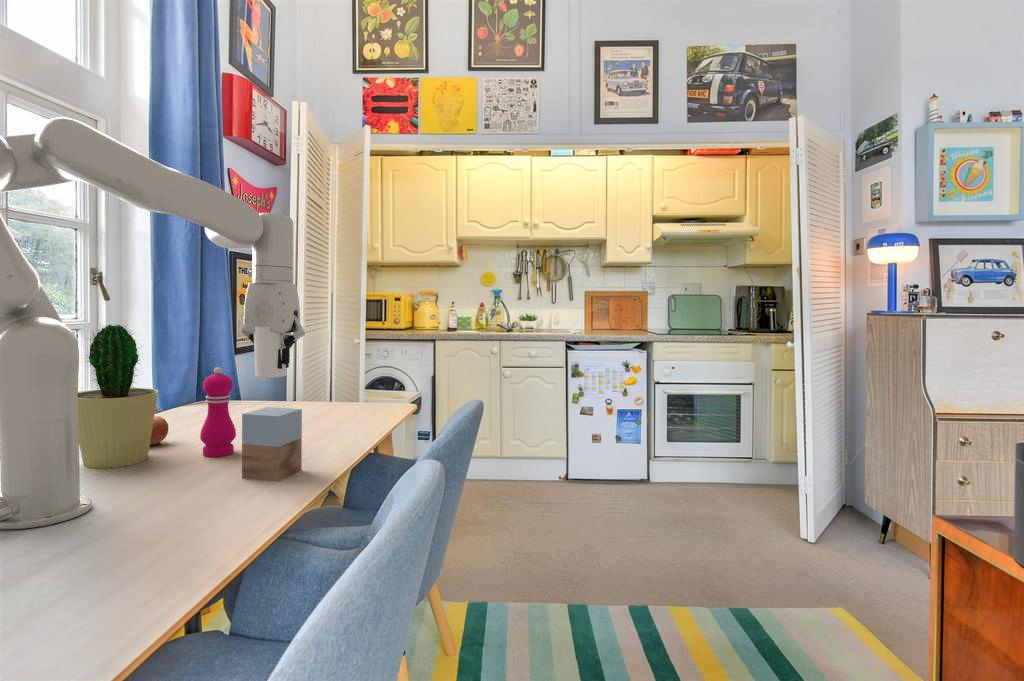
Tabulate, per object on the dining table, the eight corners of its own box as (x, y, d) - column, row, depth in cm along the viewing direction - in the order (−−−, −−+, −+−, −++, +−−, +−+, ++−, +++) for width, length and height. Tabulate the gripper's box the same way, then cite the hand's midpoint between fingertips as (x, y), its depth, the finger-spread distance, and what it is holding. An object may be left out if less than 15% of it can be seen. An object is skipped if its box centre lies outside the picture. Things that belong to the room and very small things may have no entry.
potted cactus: (175, 455, 124) (174, 322, 122) (109, 474, 109) (106, 323, 107) (123, 448, 128) (121, 320, 126) (52, 466, 113) (49, 321, 111)
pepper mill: (225, 458, 122) (225, 369, 121) (193, 457, 122) (192, 368, 121) (241, 450, 129) (241, 365, 128) (211, 449, 130) (211, 365, 128)
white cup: (278, 372, 116) (278, 325, 115) (295, 376, 112) (295, 326, 111) (246, 375, 110) (247, 325, 110) (263, 378, 106) (264, 327, 106)
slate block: (278, 446, 107) (278, 416, 107) (242, 443, 108) (242, 413, 108) (301, 437, 115) (301, 409, 114) (267, 435, 116) (267, 407, 116)
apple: (119, 447, 129) (119, 413, 129) (150, 439, 137) (150, 408, 136) (145, 450, 127) (145, 416, 127) (175, 442, 135) (175, 410, 134)
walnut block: (278, 482, 107) (278, 446, 107) (242, 478, 109) (241, 443, 108) (301, 470, 115) (301, 437, 115) (267, 467, 117) (267, 435, 116)
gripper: (223, 274, 108) (224, 367, 109) (299, 275, 104) (299, 371, 105) (249, 277, 115) (249, 364, 116) (321, 278, 112) (320, 367, 113)
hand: (273, 366), depth 111 cm, fingers closed on white cup, 3 cm apart
